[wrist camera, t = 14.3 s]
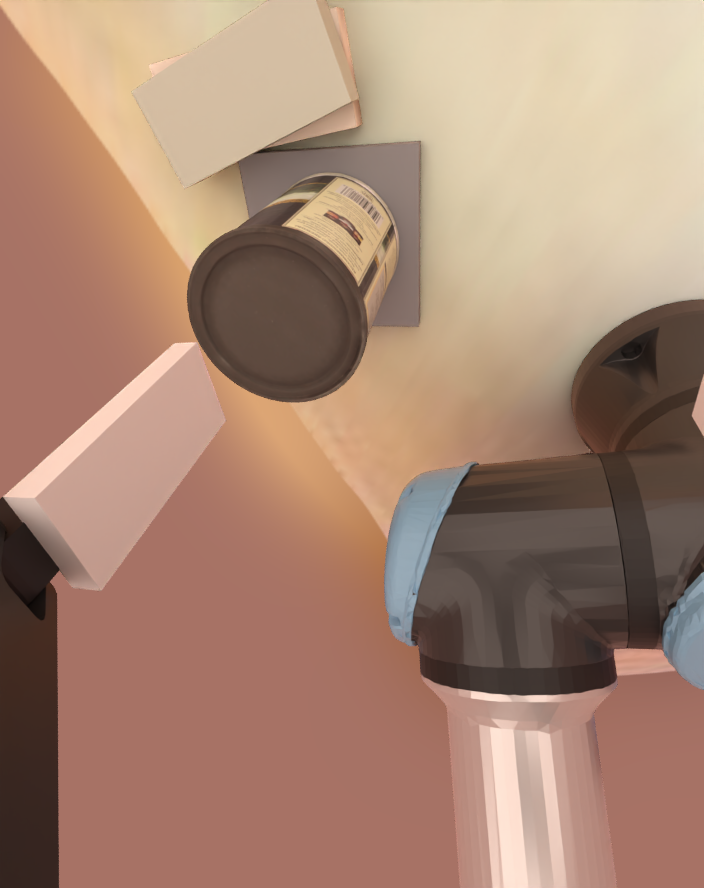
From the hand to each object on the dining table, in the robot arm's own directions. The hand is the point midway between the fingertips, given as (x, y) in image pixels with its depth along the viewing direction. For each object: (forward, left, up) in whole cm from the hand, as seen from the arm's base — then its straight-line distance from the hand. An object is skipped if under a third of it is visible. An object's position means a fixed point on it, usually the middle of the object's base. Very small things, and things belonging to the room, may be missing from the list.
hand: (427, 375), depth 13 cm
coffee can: (-4, +9, -27) cm, 29 cm away
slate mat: (-4, +10, -27) cm, 29 cm away
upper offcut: (+6, +14, -26) cm, 29 cm away
